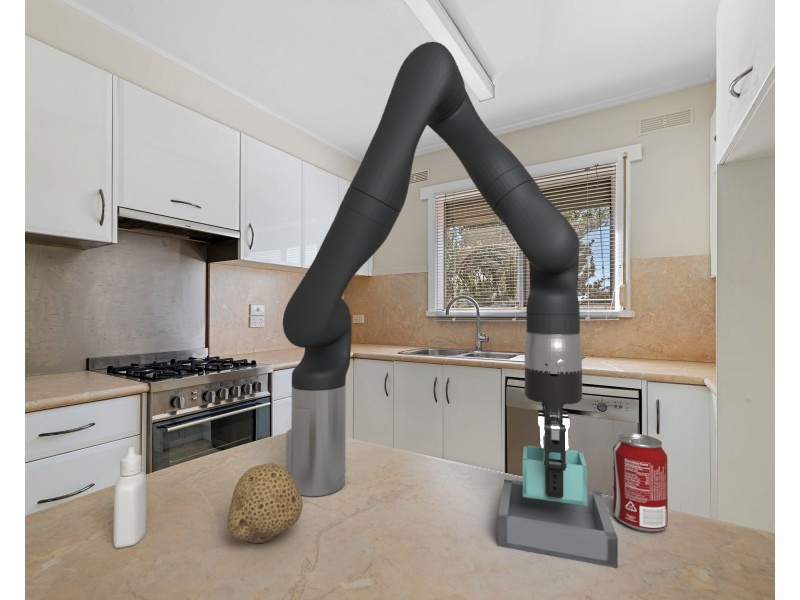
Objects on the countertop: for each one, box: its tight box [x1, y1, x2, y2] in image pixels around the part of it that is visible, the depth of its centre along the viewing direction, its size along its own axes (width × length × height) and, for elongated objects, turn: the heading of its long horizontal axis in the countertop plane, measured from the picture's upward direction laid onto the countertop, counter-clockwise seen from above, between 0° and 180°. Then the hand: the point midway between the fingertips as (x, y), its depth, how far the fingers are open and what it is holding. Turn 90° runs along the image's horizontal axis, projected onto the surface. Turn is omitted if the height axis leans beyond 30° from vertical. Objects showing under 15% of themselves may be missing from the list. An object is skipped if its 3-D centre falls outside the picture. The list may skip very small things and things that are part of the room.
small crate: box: [522, 444, 588, 506], centre depth 57 cm, size 8×6×5 cm
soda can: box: [612, 432, 669, 533], centre depth 59 cm, size 7×7×12 cm
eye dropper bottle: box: [113, 446, 148, 549], centre depth 55 cm, size 4×6×12 cm
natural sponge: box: [227, 462, 303, 544], centre depth 54 cm, size 9×9×10 cm
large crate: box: [497, 478, 619, 569], centre depth 57 cm, size 14×13×4 cm
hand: (553, 485), depth 57 cm, fingers closed on small crate, 6 cm apart
